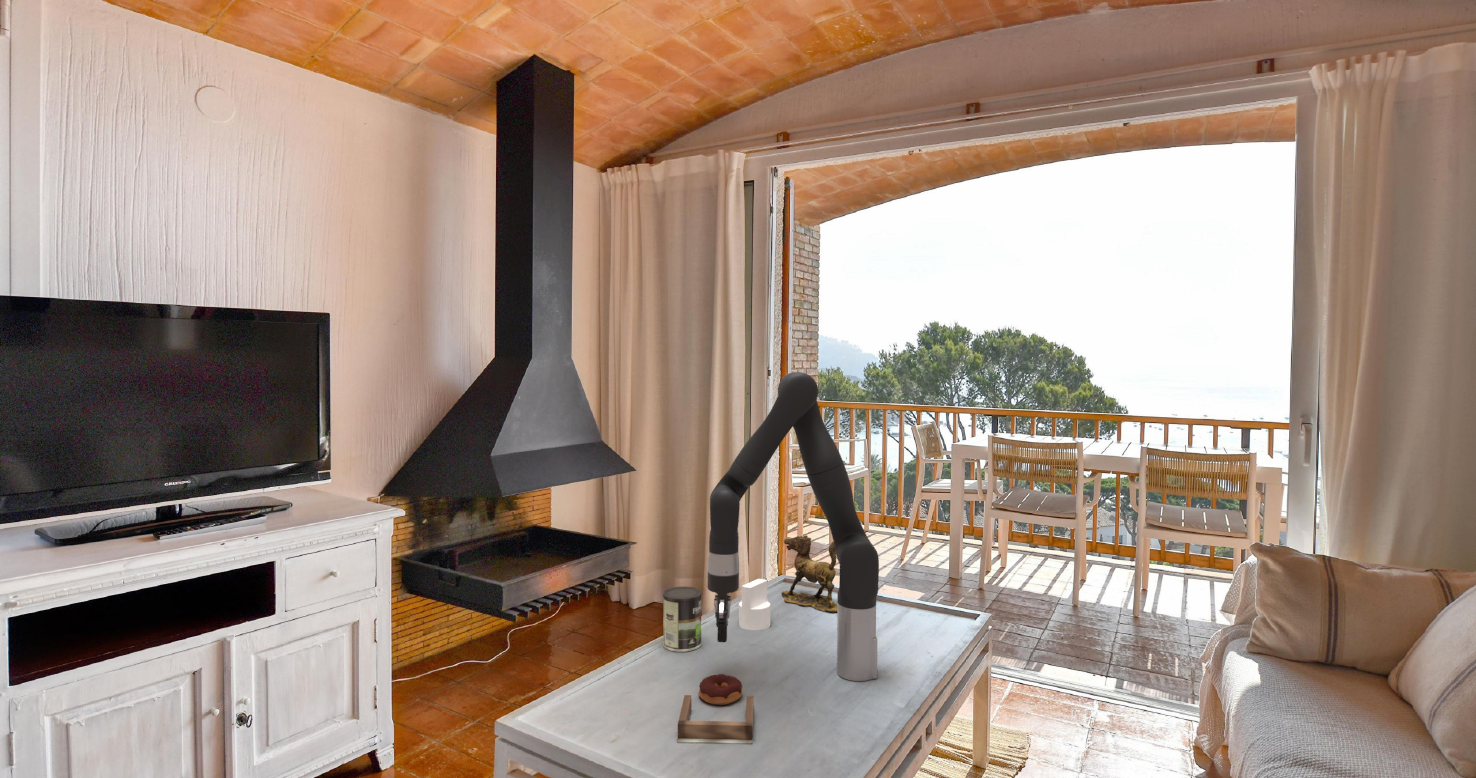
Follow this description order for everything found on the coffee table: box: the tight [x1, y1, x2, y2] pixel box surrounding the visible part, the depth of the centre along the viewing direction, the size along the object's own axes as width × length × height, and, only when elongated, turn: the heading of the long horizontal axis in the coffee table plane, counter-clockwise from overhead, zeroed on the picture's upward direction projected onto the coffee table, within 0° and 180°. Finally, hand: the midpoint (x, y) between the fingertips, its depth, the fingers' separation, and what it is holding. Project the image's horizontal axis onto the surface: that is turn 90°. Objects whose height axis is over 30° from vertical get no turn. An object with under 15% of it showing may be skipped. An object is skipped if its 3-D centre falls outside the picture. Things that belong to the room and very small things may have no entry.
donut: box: [698, 673, 743, 706], centre depth 164 cm, size 10×10×4 cm
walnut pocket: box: [676, 694, 755, 745], centre depth 151 cm, size 15×14×3 cm
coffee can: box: [662, 586, 703, 653], centre depth 193 cm, size 10×10×14 cm
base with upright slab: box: [738, 578, 771, 632], centre depth 208 cm, size 9×9×12 cm
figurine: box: [781, 534, 838, 615], centre depth 225 cm, size 13×25×20 cm, turn 42°
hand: (722, 640), depth 175 cm, fingers closed
